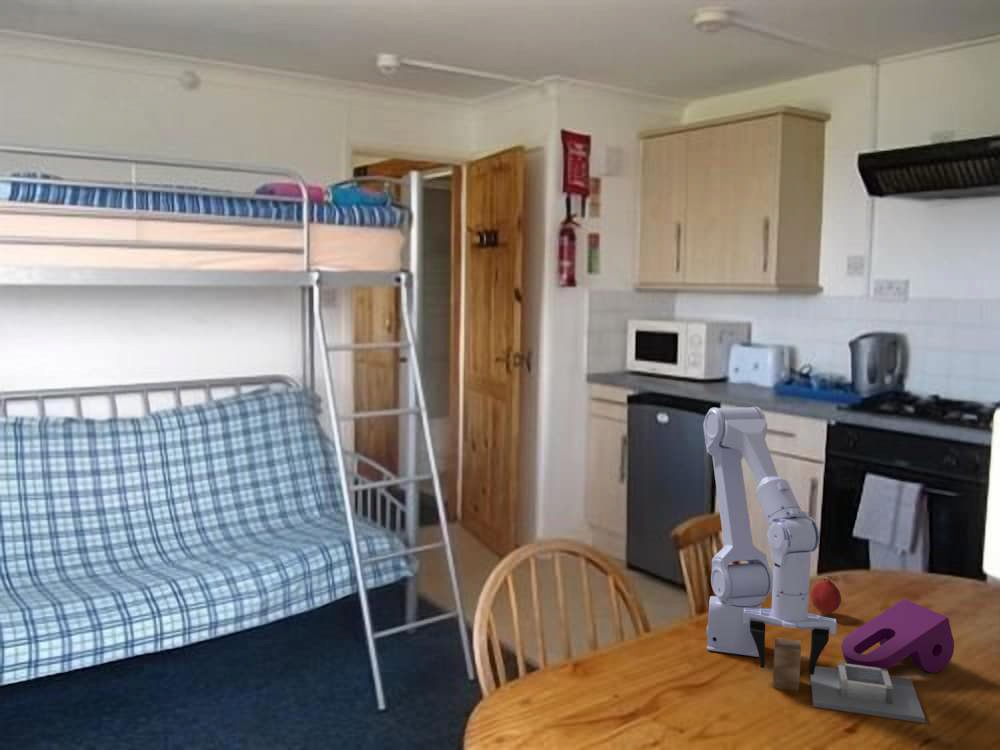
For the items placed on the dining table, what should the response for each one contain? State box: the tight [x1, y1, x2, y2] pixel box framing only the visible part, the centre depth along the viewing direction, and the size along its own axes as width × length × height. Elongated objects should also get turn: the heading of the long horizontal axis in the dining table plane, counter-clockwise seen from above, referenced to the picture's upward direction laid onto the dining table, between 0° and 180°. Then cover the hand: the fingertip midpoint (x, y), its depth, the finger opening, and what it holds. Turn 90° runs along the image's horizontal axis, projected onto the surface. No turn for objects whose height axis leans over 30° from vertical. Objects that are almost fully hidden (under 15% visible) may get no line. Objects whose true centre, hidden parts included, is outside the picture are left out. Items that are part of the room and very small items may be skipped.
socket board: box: [809, 662, 926, 724], centre depth 141 cm, size 16×14×3 cm
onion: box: [809, 576, 842, 617], centre depth 175 cm, size 6×6×8 cm
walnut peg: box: [772, 637, 802, 692], centre depth 144 cm, size 4×4×7 cm
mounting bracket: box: [840, 598, 955, 673], centre depth 152 cm, size 9×8×18 cm
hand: (786, 668), depth 144 cm, fingers open, 7 cm apart
